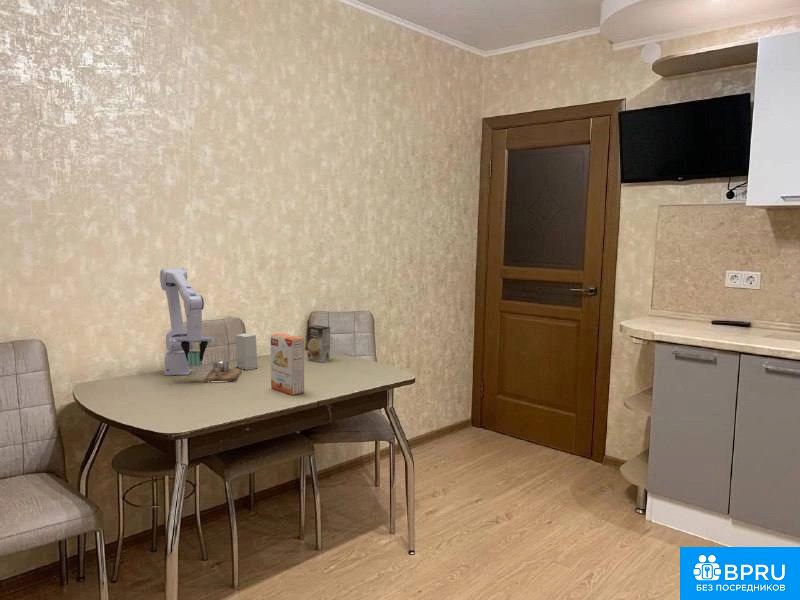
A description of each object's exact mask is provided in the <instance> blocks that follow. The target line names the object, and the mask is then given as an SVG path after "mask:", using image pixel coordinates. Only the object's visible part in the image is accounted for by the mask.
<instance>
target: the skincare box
mask: <svg viewBox="0 0 800 600" xmlns="http://www.w3.org/2000/svg"><path fill="white" fill-rule="evenodd" d="M235 350H236V352H235V353H236V368H237V367H239V368H238V369H241V368H242V370H244V369H245V371H248V370H256V369H255V368H257V369H258V354H257V353H258V352H257V334H251V333H239V334H235Z"/></svg>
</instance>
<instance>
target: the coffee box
mask: <svg viewBox="0 0 800 600" xmlns="http://www.w3.org/2000/svg"><path fill="white" fill-rule="evenodd" d="M306 339H307V344H306V345H307V346H306V347H307V349H306V350H307V353H306V355H307V356H306V357H307V358H306V360H307V361H308V362H315V363H321V364H323V363H326V362H330V360H331V358H330V355H331V353H330V352H331V327H330V326H323V325H316V324H313V325H309V326H307V338H306Z"/></svg>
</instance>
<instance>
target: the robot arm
mask: <svg viewBox="0 0 800 600" xmlns="http://www.w3.org/2000/svg"><path fill="white" fill-rule="evenodd" d="M187 280H188V271H187V269H186V268H185V267H182V268H164V267H163V268H161V269H160V271H159V282H160V288H161V290H162V291H164V292H165V295H166V300H167V308H168V313H169V319H170V326H171V330H169V332H167V334H166V335H165V347H166V350H167V352H165V354H164V375H165V376H176V375H177V376H184V375H186V376H188V375H189V374H190V373H191V372H193V369H190V366H188V353H189V352H190V351H193V347H194V343H199V351H200V361H202V362H203V360H204V355H205V352H206V349H207V347H208V345H209V343H214V342H215V336H203V318H202V316H203V313H202V310H204V308H205V300H204V297H203V295H202V294H198V293H197V292H196V290H195V289H194V287H193V286H192V285H191V284H189V283H188V281H187ZM180 297H181V299H182V301H183V307H184V313H185V316H186V317H185V318H186V328H185V325H184V319H183V313H182V307H181V301H180V300H181V299H180Z"/></svg>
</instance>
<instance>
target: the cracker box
mask: <svg viewBox="0 0 800 600" xmlns="http://www.w3.org/2000/svg"><path fill="white" fill-rule="evenodd" d="M270 388H271V389H273V390H276V391H279V392H282V393H285V394H287V395H290V396H295V395H299V394H304V393H305V338H303V337H300V336H295V335H291V334H287V333H275V334H270Z"/></svg>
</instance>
